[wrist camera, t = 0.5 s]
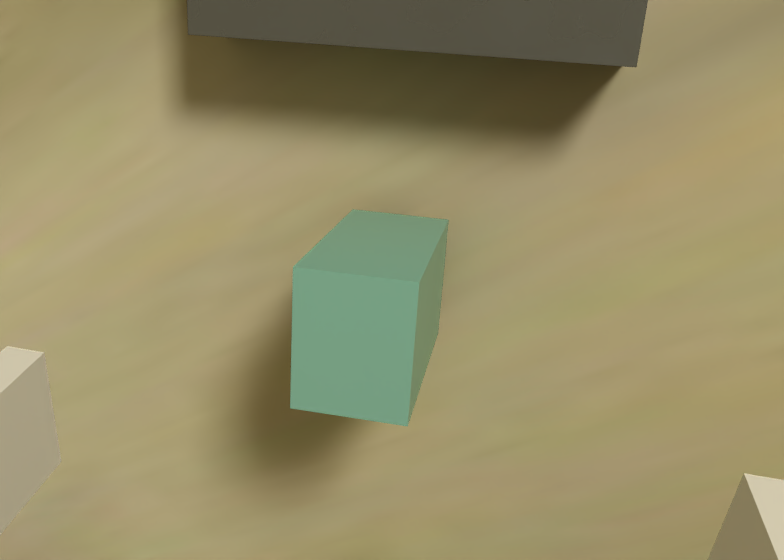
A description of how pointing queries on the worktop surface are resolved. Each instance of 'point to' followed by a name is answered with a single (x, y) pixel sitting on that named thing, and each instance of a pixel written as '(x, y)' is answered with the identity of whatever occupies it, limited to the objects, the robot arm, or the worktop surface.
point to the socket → (439, 26)
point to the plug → (367, 316)
